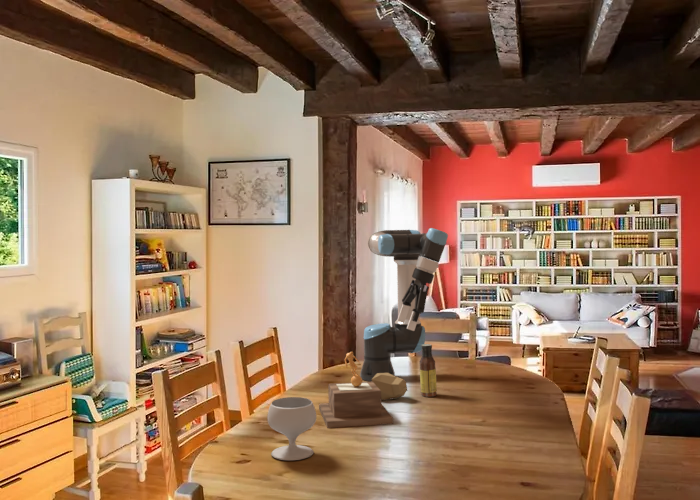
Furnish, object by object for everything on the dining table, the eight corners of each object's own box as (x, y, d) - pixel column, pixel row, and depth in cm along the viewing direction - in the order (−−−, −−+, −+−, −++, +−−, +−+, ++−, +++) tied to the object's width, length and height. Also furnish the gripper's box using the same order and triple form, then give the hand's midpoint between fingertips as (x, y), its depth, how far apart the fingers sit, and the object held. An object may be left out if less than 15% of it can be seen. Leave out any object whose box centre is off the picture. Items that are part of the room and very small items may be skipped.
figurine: (355, 389, 209) (354, 354, 209) (340, 387, 212) (339, 352, 212) (367, 384, 216) (367, 350, 216) (353, 382, 219) (352, 349, 219)
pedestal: (319, 409, 223) (318, 380, 222) (378, 405, 226) (378, 377, 226) (327, 427, 201) (326, 396, 201) (392, 423, 205) (392, 392, 204)
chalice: (292, 442, 187) (291, 393, 187) (326, 452, 178) (326, 401, 178) (257, 455, 176) (256, 403, 176) (292, 467, 167) (291, 412, 167)
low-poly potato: (363, 398, 237) (370, 391, 227) (368, 371, 242) (375, 363, 232) (400, 408, 239) (409, 401, 229) (404, 381, 244) (413, 373, 234)
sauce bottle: (436, 393, 243) (436, 343, 242) (437, 397, 237) (436, 346, 236) (419, 393, 243) (419, 343, 243) (419, 397, 237) (419, 346, 237)
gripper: (445, 278, 212) (424, 336, 212) (424, 269, 236) (405, 321, 237) (425, 271, 210) (404, 330, 211) (406, 263, 235) (387, 315, 235)
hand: (405, 325), depth 224 cm, fingers open, 13 cm apart
